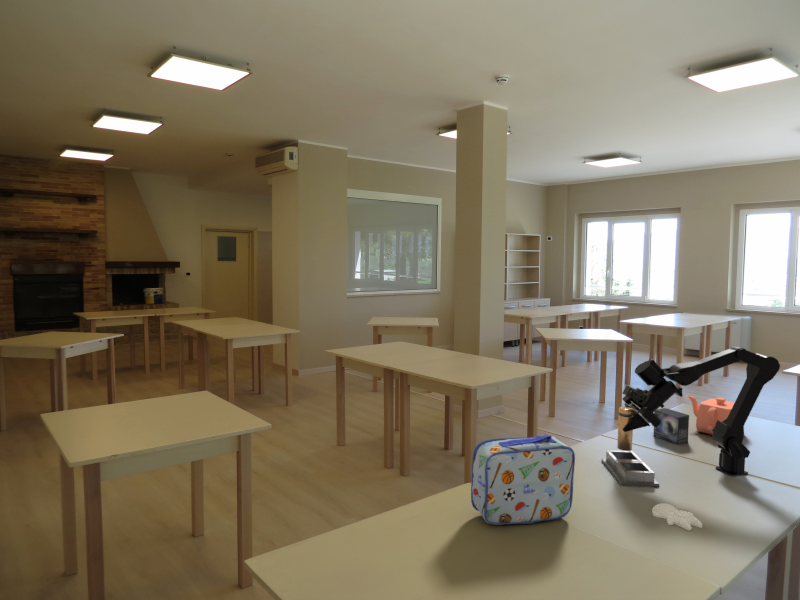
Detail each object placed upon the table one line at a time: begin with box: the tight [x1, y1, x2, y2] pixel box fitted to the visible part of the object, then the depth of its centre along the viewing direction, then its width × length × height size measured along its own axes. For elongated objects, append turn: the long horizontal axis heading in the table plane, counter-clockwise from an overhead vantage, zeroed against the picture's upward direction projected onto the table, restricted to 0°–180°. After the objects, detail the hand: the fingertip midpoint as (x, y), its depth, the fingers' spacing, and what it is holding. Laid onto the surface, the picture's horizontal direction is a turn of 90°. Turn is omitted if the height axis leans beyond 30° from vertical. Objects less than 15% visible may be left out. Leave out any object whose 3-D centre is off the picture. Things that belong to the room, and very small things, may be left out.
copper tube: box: [616, 406, 634, 451], centre depth 168 cm, size 5×5×13 cm
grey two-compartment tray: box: [601, 450, 660, 488], centre depth 165 cm, size 19×11×4 cm, turn 176°
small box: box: [652, 407, 690, 445], centre depth 196 cm, size 11×6×10 cm, turn 25°
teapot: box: [685, 394, 735, 435], centre depth 206 cm, size 20×19×14 cm
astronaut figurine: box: [651, 503, 703, 531], centre depth 136 cm, size 9×12×3 cm
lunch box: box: [470, 434, 576, 525], centre depth 136 cm, size 28×10×22 cm, turn 105°
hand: (621, 428), depth 168 cm, fingers closed on copper tube, 4 cm apart
